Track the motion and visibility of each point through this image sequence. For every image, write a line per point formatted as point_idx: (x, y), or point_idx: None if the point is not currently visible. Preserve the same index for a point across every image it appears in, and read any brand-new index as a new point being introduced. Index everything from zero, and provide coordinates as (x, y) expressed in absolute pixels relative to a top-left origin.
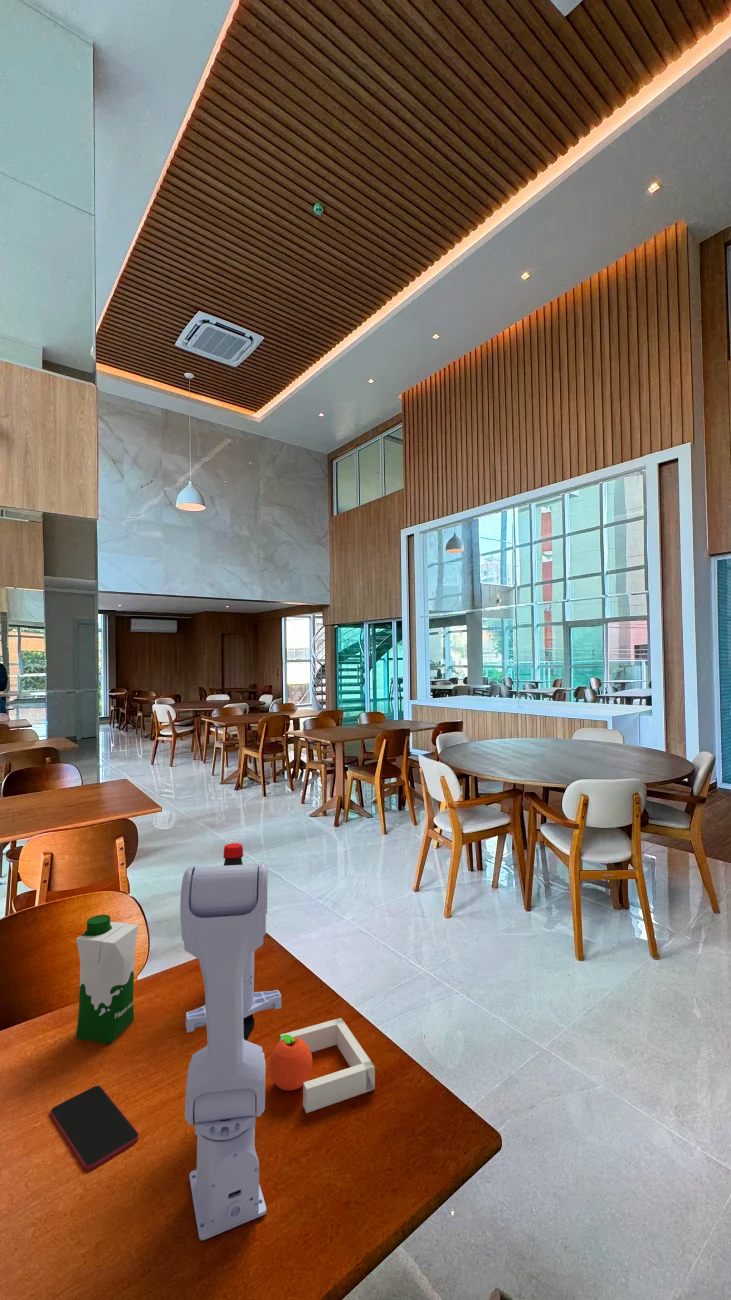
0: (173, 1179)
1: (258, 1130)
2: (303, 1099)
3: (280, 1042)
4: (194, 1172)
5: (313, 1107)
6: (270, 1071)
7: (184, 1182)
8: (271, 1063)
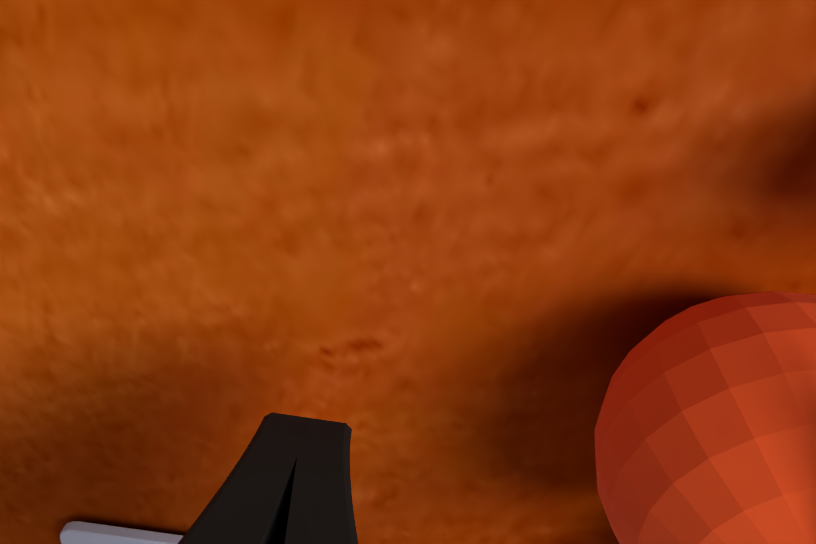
0: (4, 493)
1: (399, 484)
2: None
3: (794, 534)
4: (79, 538)
5: None
6: (602, 430)
7: (49, 519)
8: (618, 486)
